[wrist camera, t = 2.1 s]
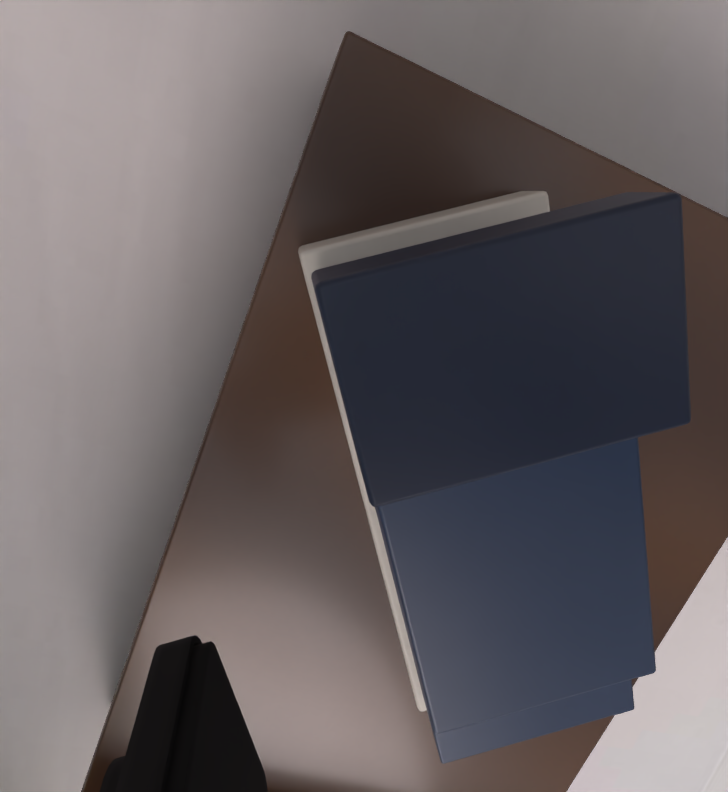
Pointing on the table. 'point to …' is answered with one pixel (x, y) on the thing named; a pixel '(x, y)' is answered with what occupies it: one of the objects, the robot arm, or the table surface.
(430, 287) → the trainer
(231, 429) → the shoe shelf
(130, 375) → the table surface
